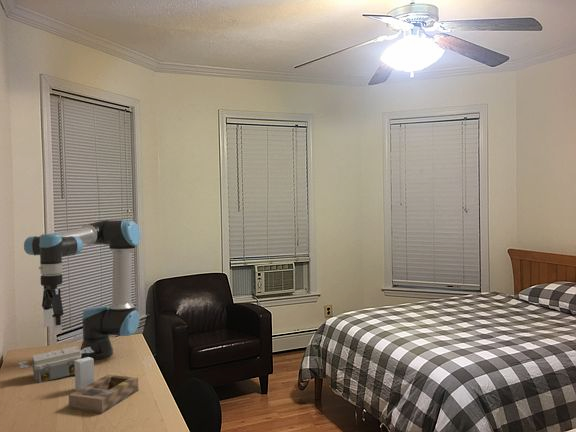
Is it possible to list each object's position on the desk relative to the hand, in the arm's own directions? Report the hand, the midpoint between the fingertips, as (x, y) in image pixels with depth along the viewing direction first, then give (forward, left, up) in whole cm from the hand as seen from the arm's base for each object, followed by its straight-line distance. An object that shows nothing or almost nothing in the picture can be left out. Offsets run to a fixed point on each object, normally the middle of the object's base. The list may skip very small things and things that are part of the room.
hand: (52, 329), depth 193 cm
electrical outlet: (-18, -14, -26) cm, 34 cm away
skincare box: (-8, +8, -25) cm, 28 cm away
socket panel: (-2, +22, -25) cm, 33 cm away
